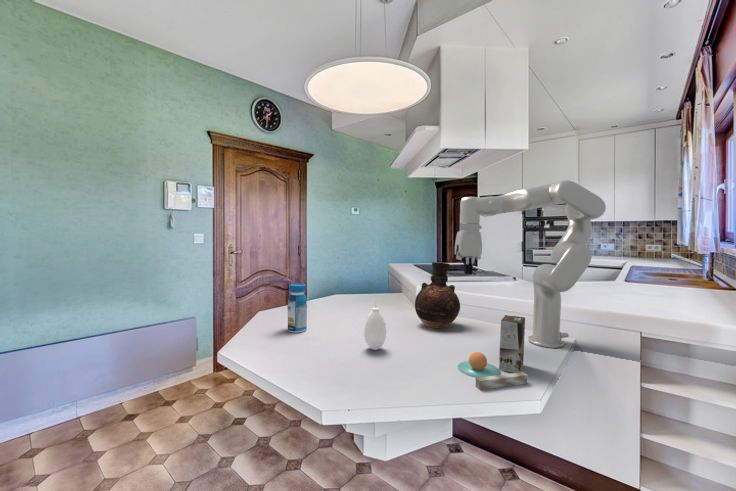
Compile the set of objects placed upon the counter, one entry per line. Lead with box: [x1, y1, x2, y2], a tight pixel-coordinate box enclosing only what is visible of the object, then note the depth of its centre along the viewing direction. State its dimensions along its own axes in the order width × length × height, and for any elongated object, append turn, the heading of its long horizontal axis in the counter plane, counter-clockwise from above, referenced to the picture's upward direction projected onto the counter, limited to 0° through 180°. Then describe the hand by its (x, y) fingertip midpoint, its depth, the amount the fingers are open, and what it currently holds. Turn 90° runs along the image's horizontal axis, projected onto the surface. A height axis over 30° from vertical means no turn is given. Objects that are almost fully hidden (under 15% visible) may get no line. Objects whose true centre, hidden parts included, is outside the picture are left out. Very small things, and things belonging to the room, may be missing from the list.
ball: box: [468, 351, 488, 370], centre depth 106 cm, size 6×6×6 cm
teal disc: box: [457, 360, 502, 378], centre depth 106 cm, size 13×13×1 cm
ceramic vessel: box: [414, 261, 461, 329], centre depth 153 cm, size 21×18×30 cm
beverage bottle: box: [287, 283, 308, 334], centre depth 143 cm, size 8×8×20 cm
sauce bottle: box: [363, 301, 387, 351], centre depth 122 cm, size 8×8×18 cm
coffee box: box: [498, 314, 526, 374], centre depth 108 cm, size 9×6×16 cm
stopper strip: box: [475, 371, 528, 391], centre depth 95 cm, size 16×2×2 cm, turn 106°
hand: (468, 273), depth 133 cm, fingers closed
